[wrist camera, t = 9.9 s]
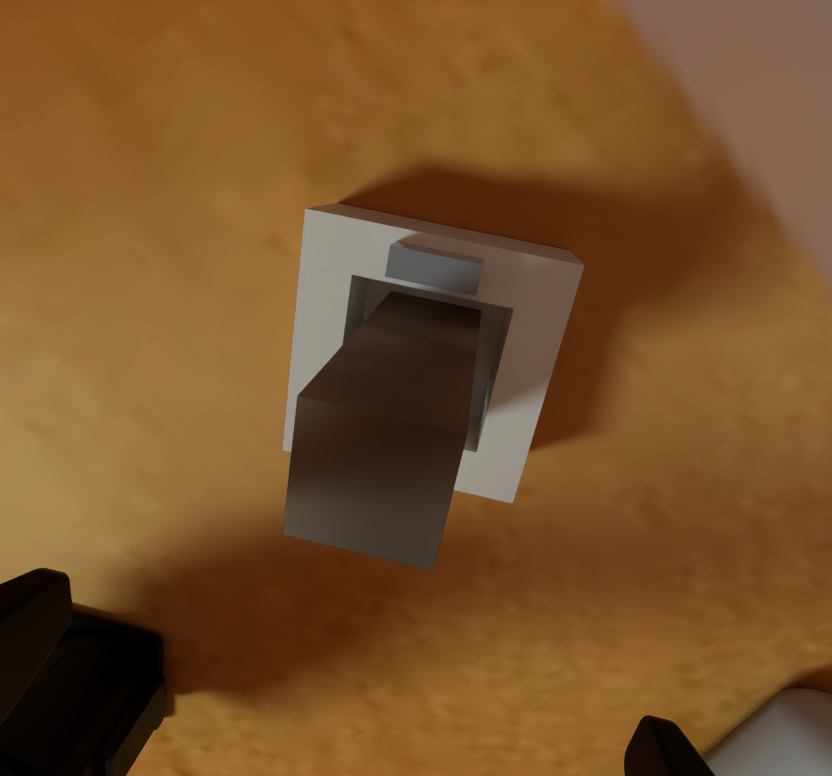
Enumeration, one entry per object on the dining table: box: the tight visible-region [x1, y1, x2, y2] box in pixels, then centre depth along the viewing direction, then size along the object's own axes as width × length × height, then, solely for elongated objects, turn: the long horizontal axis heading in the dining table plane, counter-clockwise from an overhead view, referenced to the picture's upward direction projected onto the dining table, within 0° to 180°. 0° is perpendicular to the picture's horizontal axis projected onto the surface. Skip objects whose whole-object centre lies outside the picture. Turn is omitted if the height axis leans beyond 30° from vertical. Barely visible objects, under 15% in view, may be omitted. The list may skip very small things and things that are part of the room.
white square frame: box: [283, 203, 584, 504], centre depth 17 cm, size 8×8×4 cm
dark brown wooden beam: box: [283, 291, 481, 571], centre depth 14 cm, size 3×3×9 cm
